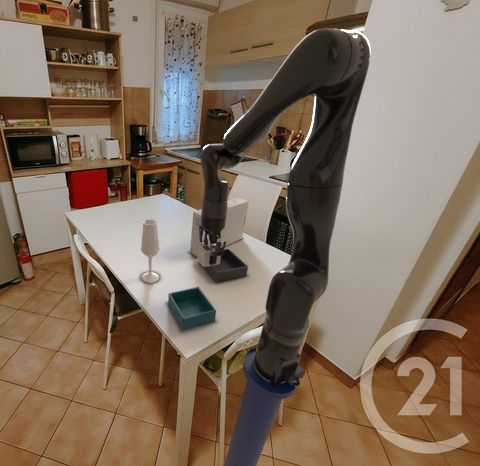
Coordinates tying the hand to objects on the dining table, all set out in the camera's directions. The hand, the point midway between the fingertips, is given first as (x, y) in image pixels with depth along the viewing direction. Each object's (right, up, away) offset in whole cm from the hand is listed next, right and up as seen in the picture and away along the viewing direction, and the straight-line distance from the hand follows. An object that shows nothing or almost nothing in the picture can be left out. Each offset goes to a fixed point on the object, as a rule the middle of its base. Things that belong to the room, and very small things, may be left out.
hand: (208, 259), depth 87 cm
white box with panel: (0, -1, 0) cm, 1 cm away
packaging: (+11, +3, +39) cm, 40 cm away
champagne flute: (-20, -9, +16) cm, 27 cm away
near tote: (-6, -17, -1) cm, 18 cm away
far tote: (+10, -6, +21) cm, 24 cm away
